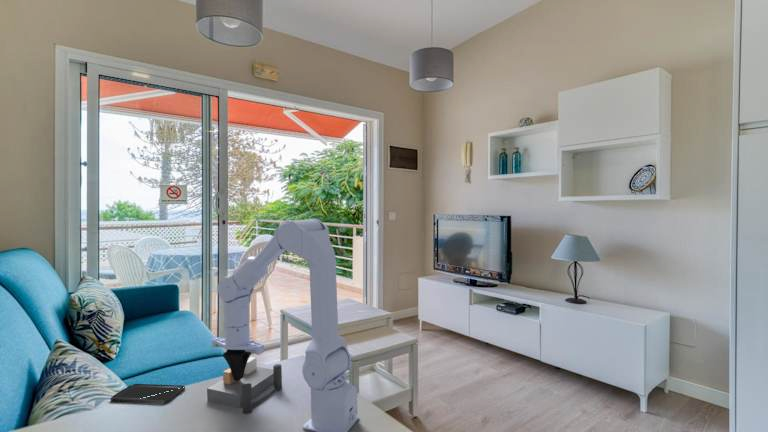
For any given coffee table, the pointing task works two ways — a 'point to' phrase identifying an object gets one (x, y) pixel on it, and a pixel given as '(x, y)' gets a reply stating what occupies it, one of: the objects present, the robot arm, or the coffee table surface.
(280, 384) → the dark grey post rail
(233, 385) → the grey tray with posts
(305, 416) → the coffee table surface
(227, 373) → the orange rectangular block
